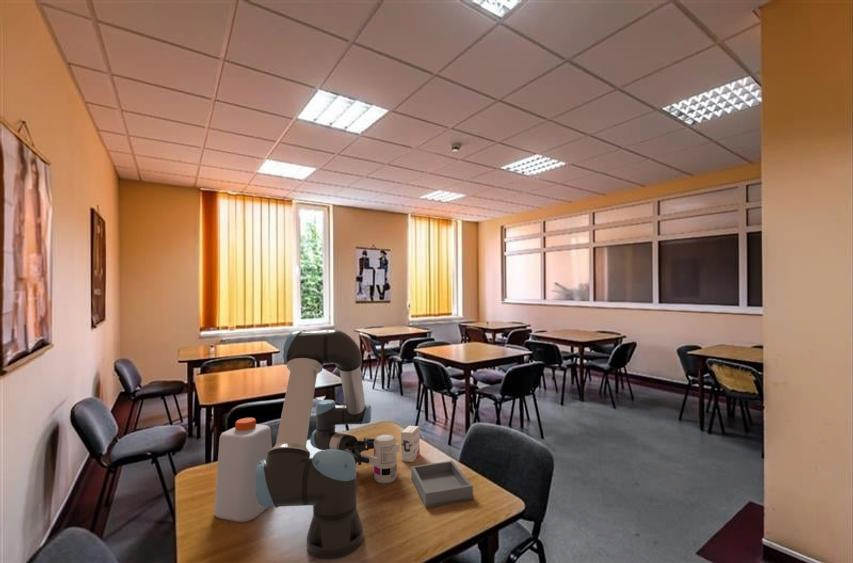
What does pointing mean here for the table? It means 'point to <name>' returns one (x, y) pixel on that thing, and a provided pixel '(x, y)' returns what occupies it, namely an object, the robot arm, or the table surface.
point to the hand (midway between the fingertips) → (388, 454)
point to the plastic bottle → (240, 470)
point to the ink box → (410, 443)
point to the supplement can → (385, 458)
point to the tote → (441, 484)
